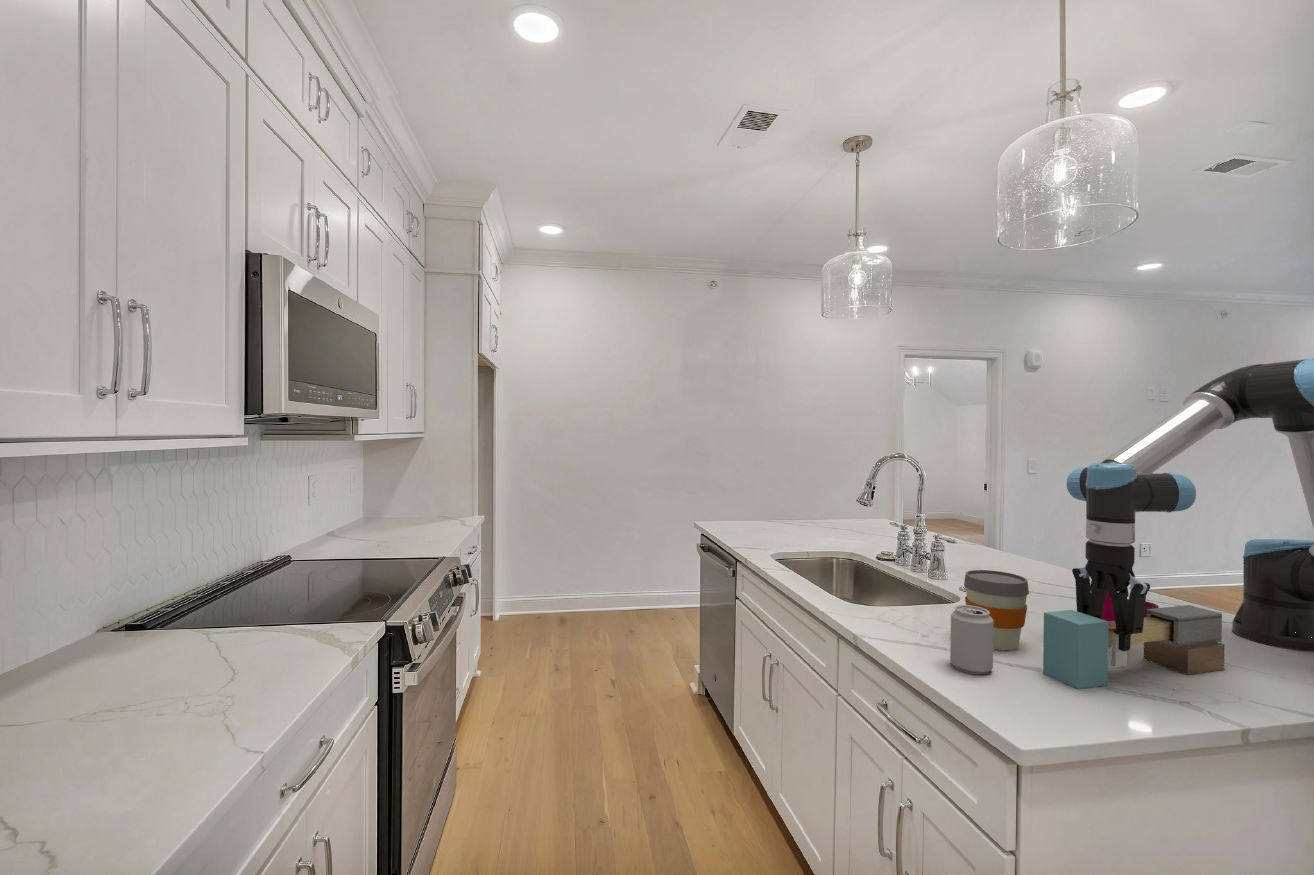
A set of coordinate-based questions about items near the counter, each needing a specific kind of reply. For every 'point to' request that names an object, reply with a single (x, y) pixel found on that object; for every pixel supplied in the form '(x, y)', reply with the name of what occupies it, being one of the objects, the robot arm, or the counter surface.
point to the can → (971, 639)
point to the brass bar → (1148, 630)
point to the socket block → (1075, 648)
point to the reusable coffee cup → (999, 603)
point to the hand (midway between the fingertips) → (1107, 661)
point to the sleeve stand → (1188, 640)
